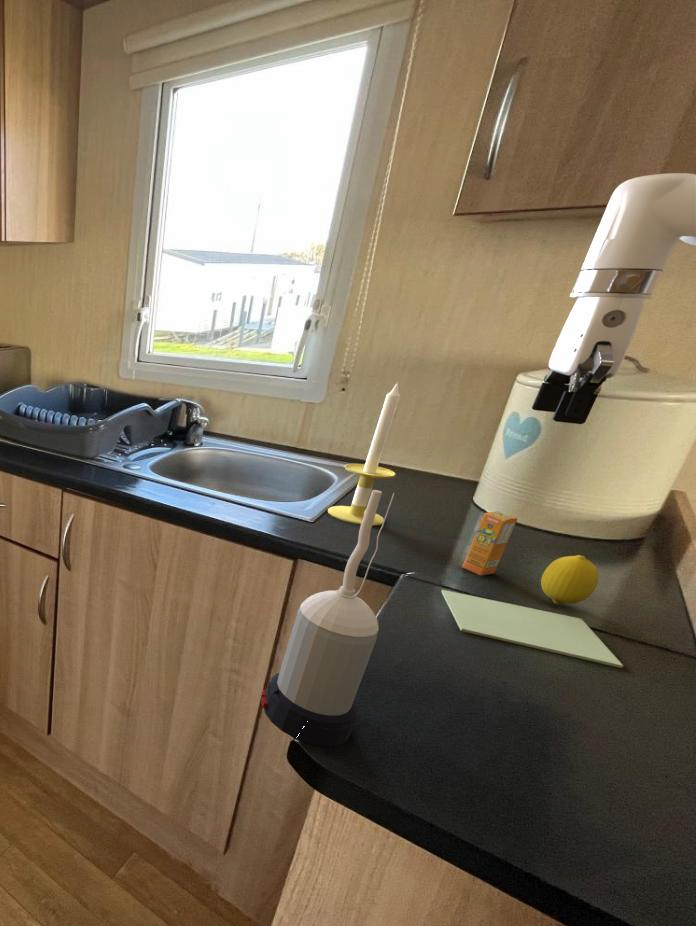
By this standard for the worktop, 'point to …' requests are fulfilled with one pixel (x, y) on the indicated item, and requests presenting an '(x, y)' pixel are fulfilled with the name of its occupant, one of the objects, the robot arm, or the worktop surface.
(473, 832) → the worktop surface
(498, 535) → the supplement box
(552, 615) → the mat
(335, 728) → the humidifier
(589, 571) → the lemon
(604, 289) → the robot arm
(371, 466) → the candle
